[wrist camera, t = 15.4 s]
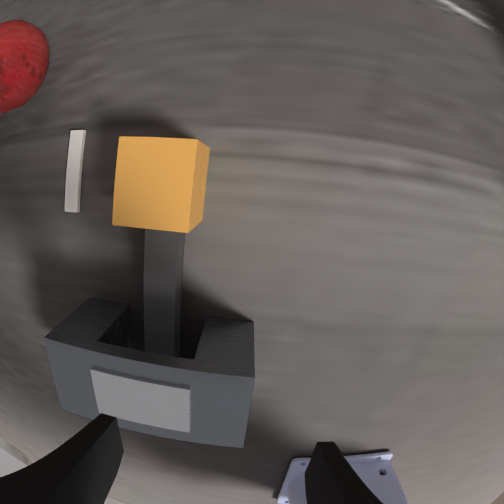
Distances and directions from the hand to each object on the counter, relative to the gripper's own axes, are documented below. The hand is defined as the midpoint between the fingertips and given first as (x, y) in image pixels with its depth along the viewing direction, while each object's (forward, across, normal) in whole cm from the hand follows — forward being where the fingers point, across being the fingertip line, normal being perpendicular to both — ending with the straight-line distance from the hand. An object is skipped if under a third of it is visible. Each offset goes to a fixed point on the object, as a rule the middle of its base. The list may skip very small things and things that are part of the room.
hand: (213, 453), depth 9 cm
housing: (+10, +4, +2) cm, 11 cm away
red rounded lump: (+10, +15, -16) cm, 24 cm away
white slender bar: (+10, +10, -9) cm, 17 cm away
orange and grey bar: (+10, +4, -2) cm, 11 cm away
